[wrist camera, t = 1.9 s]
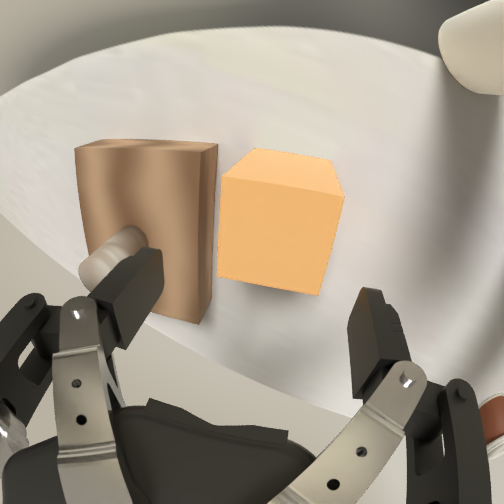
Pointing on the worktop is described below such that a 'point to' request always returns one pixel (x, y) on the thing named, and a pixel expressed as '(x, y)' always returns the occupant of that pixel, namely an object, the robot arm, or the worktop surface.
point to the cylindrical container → (476, 47)
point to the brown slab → (151, 214)
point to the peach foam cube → (278, 220)
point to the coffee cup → (493, 424)
